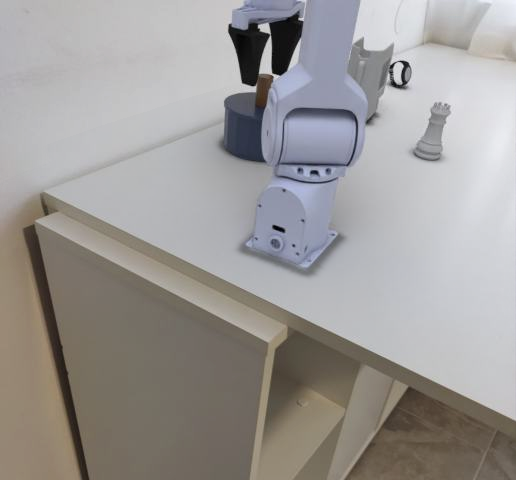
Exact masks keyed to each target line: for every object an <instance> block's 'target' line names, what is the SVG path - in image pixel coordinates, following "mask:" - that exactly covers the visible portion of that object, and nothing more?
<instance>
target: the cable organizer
mask: <svg viewBox="0 0 516 480" xmlns="http://www.w3.org/2000/svg"><path fill="white" fill-rule="evenodd" d="M364 44H365V37H364V36H361V37H360V38H358V39H357V40H355V41H354V42H352V47H351V51H350V56H349V61H348V66H347V71H346V72H347V73H348V74H349V75H350V76H351V77H352V78H353V79H354V80H355V81H356V83H357V84H358V85H359V86H360V87H361V88H362V90H363V91H364V93H365V95H366V99H367V102H368V110H367V115H366V122H367V121H368V120H370V118H371V117H372V116H373V115H374V114H375V113H376V112H377V110H378V106H379V102H380V98H381V97H383V95H384V93H385V89H386V85H387V81H388V76H389V73H388V72H389V68H390V65H391V64H392V60H393V55H394V48H395V42H392V43H391V44H389V45H388V46H387V47H386V48H384V49H382V50H381V49H380V50H374V49H372V50H371V49H365V48H364V47H365V46H364Z"/></svg>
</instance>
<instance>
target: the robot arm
mask: <svg viewBox="0 0 516 480" xmlns="http://www.w3.org/2000/svg"><path fill="white" fill-rule="evenodd" d="M361 2H362V0H306V1H302V0H243V5H242V6H240V7H238V8H234V9H232V10H231V23H228V24H227V25H228V26H227V33H228V34H229V35H228V36H229V37H230V39H231V42H232V44H233V46H234V50H235V54H236V57H237V63H238V69H239V76H240V80H241V84H243V85H245V86H249V87H253V88H254V87H256V85H257V81H258V76H259V74H260V69H261V63H262V59H263V54H264V52H265V49H266V46H267V43H268V41H269V39H271V42H270V43H271V59H270V63H271V64H270V67H271V75H275V76H278V77H277V78H276V79H274V81H273V83H272V84H271V88H270V89H269V93H268V100H267V105H266V108H265V110H264V114H263V120H262V134H261V141H262V153H263V157H264V159H265V160H266V161H265V163H267V165H268V166H269V167H273V168H272V175H271V178H270V181H269V182H268V184H267V186H266V187H265V188H264V189H263V190H262V191H261V193H260V194H259V195H258V198H257V201H256V205H255V206H256V207H255V217H254V226H253V236H252V237H251V238H250V239H249V240H248V241H247V242H245V246H246V247H248V248H251V249H253V250H256V251H259V252H262V253H264V254H266V255H269V256H273V257H275V258H278V259H280V260H282V261H283V260H284V261H286V262H288V263H291V264H294V265H297V266H299V267H303V268H309V267H310V266H311V265H312V264H313V263H314V262H315V261H316V260H317V259H318V257H320V255H322V253H323V252H324V251H325V250H326V249H327V248H328V247H329V246H330V244H332V242H333V241H334V240H335V239H336V238H337V237H338V235H339V232H337V231H336V230H333V229H330V224H331V219H332V214H333V209H334V203H335V199H336V194H337V189H338V184H339V179H340V178H344V177H345V176H346V172H347V169H348V168H349V169H350V168H352V167H354V166H355V164H356V163H357V162H358V161H359V159H360V157H361V156H362V153H363V150H364V147H365V141H366V122H367V121H366V115H367V110H368V102H367V99H366V95H365V93H364V91H363V90H362V88H361V87H360V86H359V85H358V84H357V83H356V81H355V80H354V79H353V78H352V77H351V76H350V75H349V74H348V73H347V72H346V71H347V66H348V61H349V59H350V54H351V48H352V44H353V43H354V42H353V41H354V36H355V31H356V27H357V20H358V16H359V11H360V5H361ZM300 19H301V20H300ZM302 19H303V20H302ZM266 24H268V28H269V32H270V33H269V32H265V31H261V28H260V27H259V26H260V25H266ZM299 42H300V44H299ZM298 44H299V51H298V59H297V62H296V64H295V65H294V66H292V67H291V68H289V67H290V64H291V61H292V59H293V56H294V53H295V51H296V48H297V46H298Z"/></svg>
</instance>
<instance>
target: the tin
mask: <svg viewBox="0 0 516 480" xmlns="http://www.w3.org/2000/svg"><path fill="white" fill-rule="evenodd" d="M223 122H224V123H223V142H222V143H223V147H224V149H225V150H226V151H227V152H228V153H229V154H232V155H233V156H236V157H238V158H241V159H244V160H248V161H253V162H266V160H265V159H264V157H263V153H262V141H261V134H262V122H260V121H253V120H248V119H244V118H241V117H238V116H236V115H233V114H231V113H230V112H228V111H227V110H226V109H225V108H224V121H223Z"/></svg>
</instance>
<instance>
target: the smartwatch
mask: <svg viewBox="0 0 516 480" xmlns="http://www.w3.org/2000/svg"><path fill="white" fill-rule="evenodd" d="M398 63H400V64H402V65H403V66H402V69H401V72H400V80H401V84H397V82H396V81H395V78H394V67H395V65H396V64H398ZM412 70H413V69H412V67H411V65H410V62H409V61H406V60H397V61H394V62H392V63H391V64H390V68H389V72H388V75H389V81H390V84H391V85H392V87H394V88H400V87H405V86H406V85H408V83H409V82H410V81H411V78H412V73H413V71H412Z"/></svg>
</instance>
